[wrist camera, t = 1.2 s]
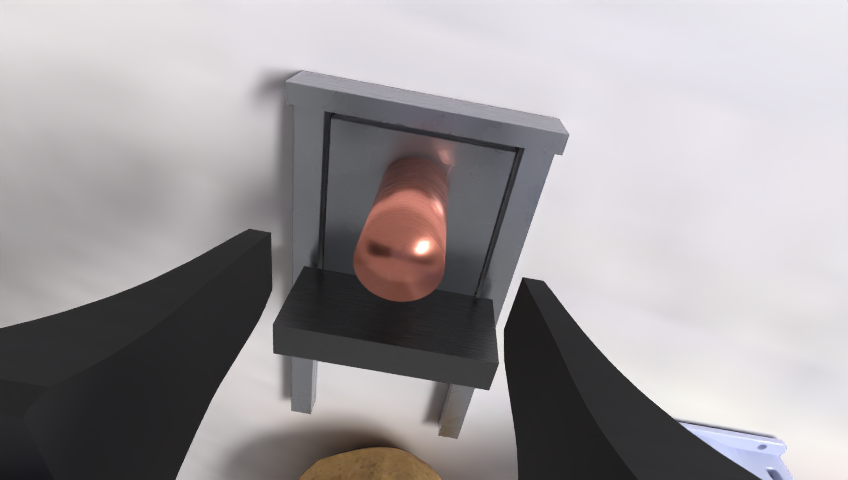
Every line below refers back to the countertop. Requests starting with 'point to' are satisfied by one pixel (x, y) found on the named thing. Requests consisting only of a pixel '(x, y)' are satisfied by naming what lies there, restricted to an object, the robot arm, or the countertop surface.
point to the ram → (402, 256)
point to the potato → (371, 466)
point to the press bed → (428, 113)
